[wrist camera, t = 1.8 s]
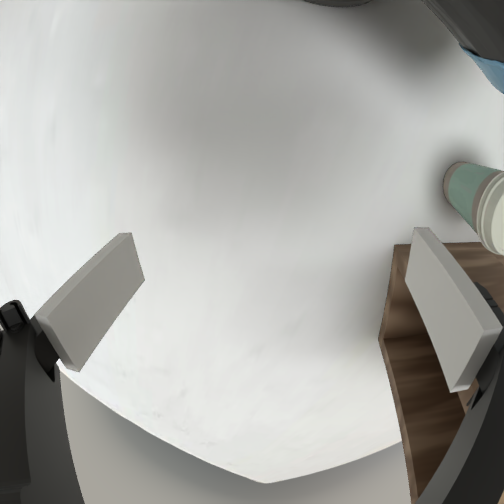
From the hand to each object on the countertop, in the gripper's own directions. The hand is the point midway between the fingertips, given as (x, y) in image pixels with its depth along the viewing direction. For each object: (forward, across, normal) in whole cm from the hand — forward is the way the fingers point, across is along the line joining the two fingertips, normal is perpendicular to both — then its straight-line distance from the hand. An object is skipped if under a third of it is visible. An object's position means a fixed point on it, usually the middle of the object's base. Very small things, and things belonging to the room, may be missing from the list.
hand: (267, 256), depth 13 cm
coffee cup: (+22, +22, -2) cm, 31 cm away
